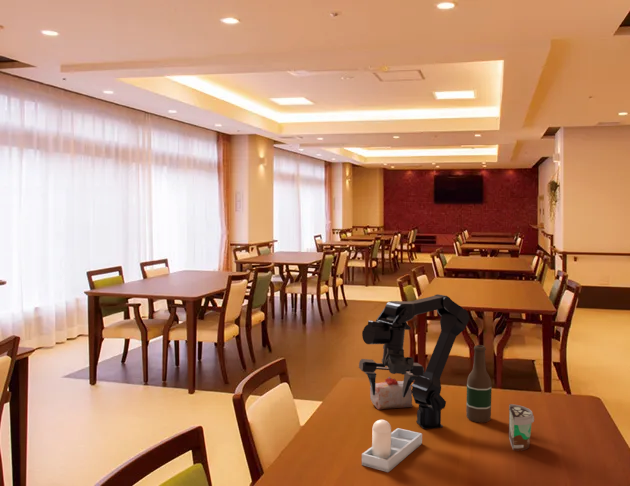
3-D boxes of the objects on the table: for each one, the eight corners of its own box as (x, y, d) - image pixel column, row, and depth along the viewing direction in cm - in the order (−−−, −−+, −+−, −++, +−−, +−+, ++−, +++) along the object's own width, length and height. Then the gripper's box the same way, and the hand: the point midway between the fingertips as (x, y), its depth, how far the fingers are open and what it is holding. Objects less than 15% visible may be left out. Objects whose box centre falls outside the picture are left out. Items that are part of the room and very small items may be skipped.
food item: (375, 411, 196) (376, 382, 195) (368, 403, 204) (369, 376, 203) (413, 408, 199) (414, 380, 198) (405, 401, 207) (405, 374, 206)
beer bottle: (464, 421, 187) (466, 347, 186) (467, 413, 194) (469, 342, 193) (489, 424, 184) (491, 349, 183) (491, 416, 192) (493, 344, 190)
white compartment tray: (397, 437, 173) (397, 427, 173) (422, 443, 169) (422, 433, 169) (361, 465, 155) (361, 454, 155) (388, 472, 150) (388, 461, 150)
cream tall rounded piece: (382, 454, 159) (383, 415, 159) (394, 461, 155) (395, 421, 154) (368, 458, 157) (368, 418, 156) (379, 465, 152) (380, 424, 152)
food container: (537, 454, 162) (538, 419, 161) (513, 452, 163) (514, 417, 162) (529, 437, 174) (530, 404, 173) (508, 435, 175) (509, 403, 174)
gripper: (369, 346, 164) (364, 401, 164) (432, 351, 167) (427, 405, 167) (361, 339, 175) (355, 391, 175) (420, 344, 178) (415, 395, 178)
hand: (388, 396), depth 173 cm, fingers open, 9 cm apart
